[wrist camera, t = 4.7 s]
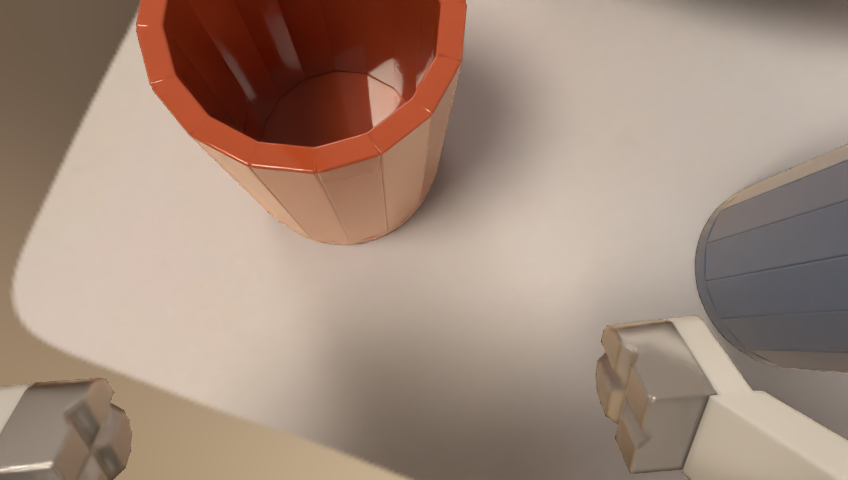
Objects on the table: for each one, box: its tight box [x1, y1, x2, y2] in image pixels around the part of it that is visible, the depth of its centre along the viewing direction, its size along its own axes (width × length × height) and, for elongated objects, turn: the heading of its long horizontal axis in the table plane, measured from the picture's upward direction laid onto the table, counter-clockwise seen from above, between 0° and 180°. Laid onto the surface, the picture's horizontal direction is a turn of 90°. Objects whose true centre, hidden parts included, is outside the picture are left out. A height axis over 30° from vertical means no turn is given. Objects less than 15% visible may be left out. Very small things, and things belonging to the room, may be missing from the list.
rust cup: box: [136, 0, 467, 245], centre depth 18 cm, size 7×7×10 cm
